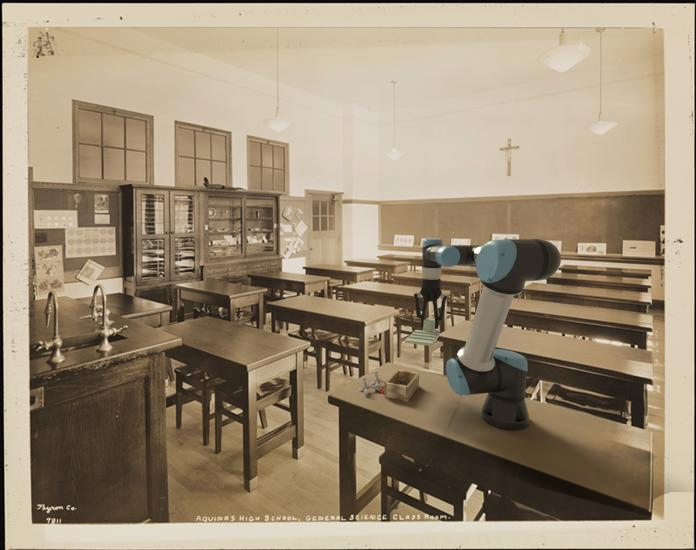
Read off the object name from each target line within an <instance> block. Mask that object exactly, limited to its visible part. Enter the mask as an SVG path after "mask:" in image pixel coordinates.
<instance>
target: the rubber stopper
mask: <svg viewBox="0 0 696 550" xmlns="http://www.w3.org/2000/svg"><path fill="white" fill-rule="evenodd" d="M401 384H403V385H406V379H400V385H401Z"/></svg>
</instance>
